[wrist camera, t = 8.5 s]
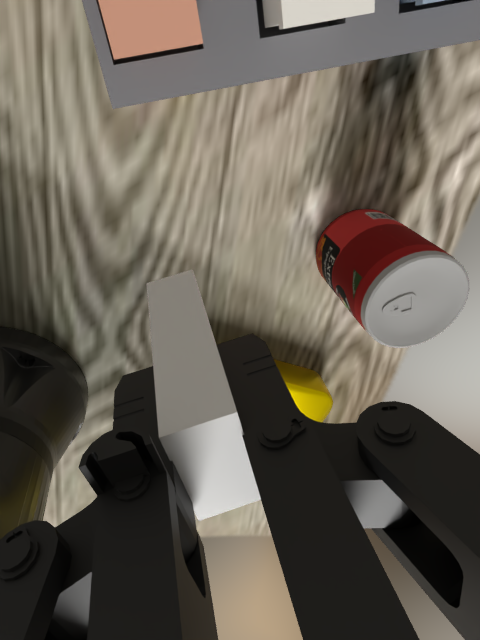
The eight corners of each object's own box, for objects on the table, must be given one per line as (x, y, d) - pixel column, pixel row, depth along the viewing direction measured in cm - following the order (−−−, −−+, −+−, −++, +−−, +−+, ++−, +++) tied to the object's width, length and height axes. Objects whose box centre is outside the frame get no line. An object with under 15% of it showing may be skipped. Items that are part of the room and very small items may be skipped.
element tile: (267, 463, 53) (276, 495, 49) (151, 443, 48) (152, 478, 44) (326, 371, 47) (343, 400, 43) (202, 337, 42) (208, 366, 38)
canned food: (300, 234, 38) (350, 291, 28) (382, 188, 37) (461, 231, 28) (329, 298, 42) (381, 366, 33) (403, 258, 41) (478, 316, 32)
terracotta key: (118, 59, 27) (113, 59, 23) (93, -40, 25) (82, -61, 21) (194, 45, 28) (203, 43, 24) (177, -54, 25) (183, -76, 21)
